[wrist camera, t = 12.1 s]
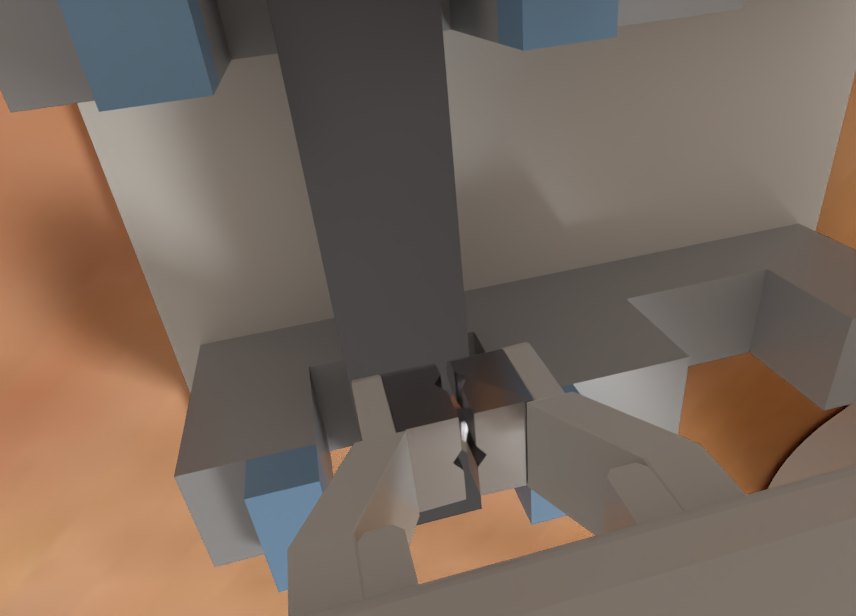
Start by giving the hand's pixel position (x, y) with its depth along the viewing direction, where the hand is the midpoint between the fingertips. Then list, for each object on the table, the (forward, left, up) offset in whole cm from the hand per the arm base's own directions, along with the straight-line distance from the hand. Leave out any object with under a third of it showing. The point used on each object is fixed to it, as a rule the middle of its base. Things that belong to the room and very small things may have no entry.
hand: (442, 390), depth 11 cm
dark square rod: (0, 0, -9) cm, 9 cm away
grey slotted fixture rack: (-6, 0, -13) cm, 14 cm away
